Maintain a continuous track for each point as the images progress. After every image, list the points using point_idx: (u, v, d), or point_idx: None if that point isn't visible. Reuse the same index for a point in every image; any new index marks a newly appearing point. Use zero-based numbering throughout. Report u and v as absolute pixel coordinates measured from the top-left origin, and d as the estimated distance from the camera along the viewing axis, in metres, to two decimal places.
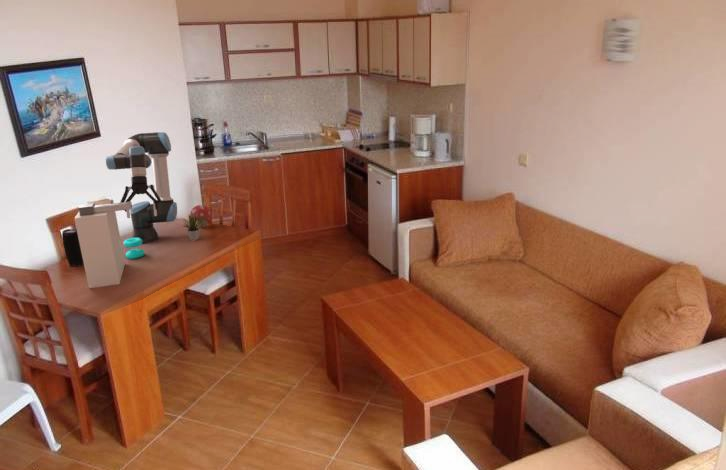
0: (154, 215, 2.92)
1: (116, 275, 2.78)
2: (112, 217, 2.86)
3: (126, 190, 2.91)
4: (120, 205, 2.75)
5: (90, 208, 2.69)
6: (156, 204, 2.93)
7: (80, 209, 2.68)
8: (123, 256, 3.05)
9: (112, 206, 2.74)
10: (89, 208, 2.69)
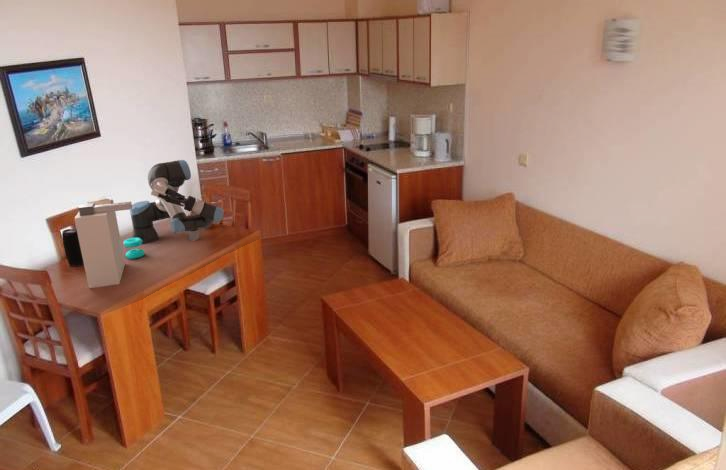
0: (153, 189, 2.73)
1: (116, 275, 2.78)
2: (112, 217, 2.86)
3: None
4: (120, 205, 2.75)
5: (90, 208, 2.69)
6: (164, 195, 2.74)
7: (80, 209, 2.68)
8: (123, 256, 3.05)
9: (112, 206, 2.74)
10: (89, 208, 2.69)
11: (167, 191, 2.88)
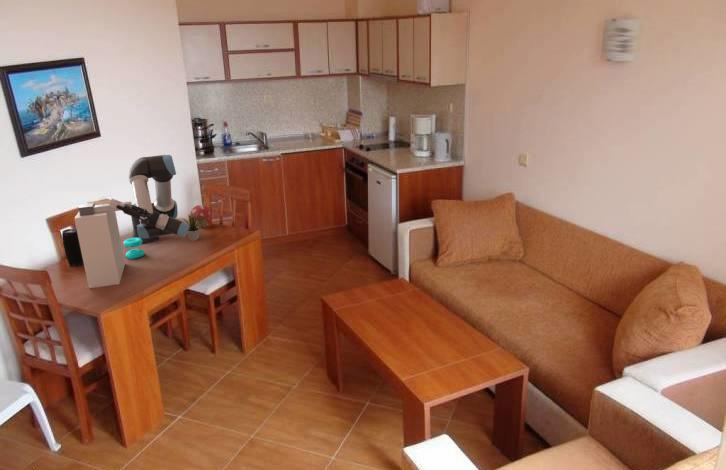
0: (111, 200, 2.73)
1: (116, 275, 2.78)
2: (112, 217, 2.86)
3: (142, 208, 2.85)
4: None
5: (90, 208, 2.69)
6: (122, 207, 2.74)
7: (80, 209, 2.68)
8: (123, 256, 3.05)
9: None
10: (89, 208, 2.69)
11: None
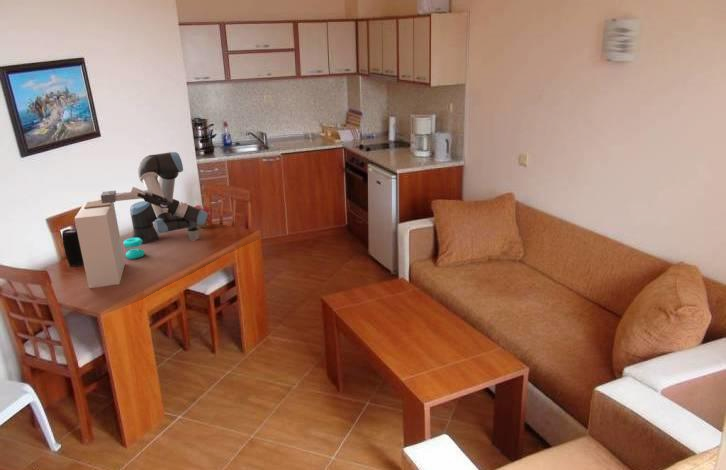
0: (132, 188, 2.79)
1: (116, 275, 2.78)
2: (112, 217, 2.86)
3: (162, 197, 2.91)
4: None
5: (112, 196, 2.75)
6: (143, 195, 2.80)
7: (102, 197, 2.74)
8: (123, 256, 3.05)
9: None
10: (111, 196, 2.75)
11: None
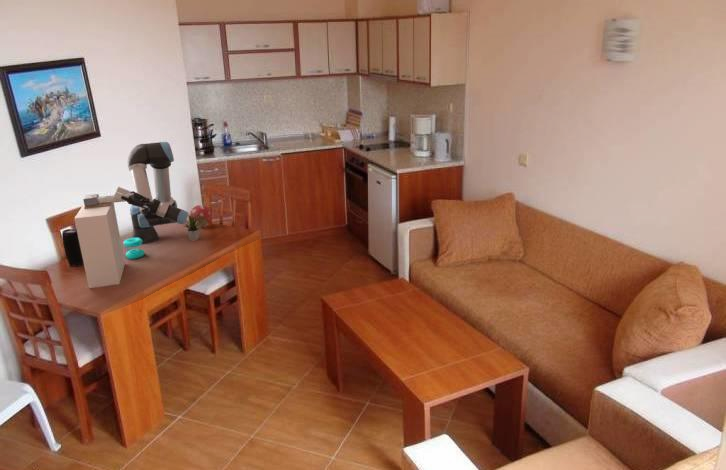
0: (116, 191, 2.83)
1: (116, 275, 2.78)
2: (112, 217, 2.86)
3: (145, 197, 2.99)
4: None
5: (94, 199, 2.82)
6: (126, 198, 2.84)
7: (85, 200, 2.81)
8: (123, 256, 3.05)
9: (115, 197, 2.87)
10: (93, 199, 2.82)
11: None
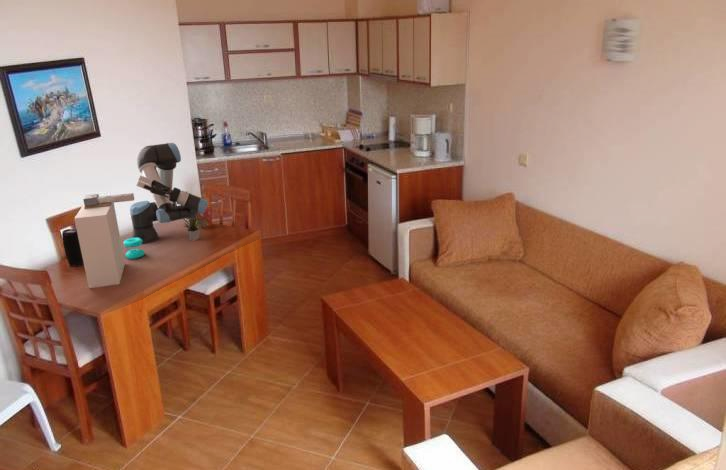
0: None
1: (116, 275, 2.78)
2: (112, 217, 2.86)
3: (166, 186, 3.01)
4: (123, 196, 2.88)
5: (94, 199, 2.82)
6: (149, 187, 2.85)
7: (85, 200, 2.81)
8: (123, 256, 3.05)
9: (115, 197, 2.87)
10: (93, 199, 2.82)
11: (153, 183, 2.99)
